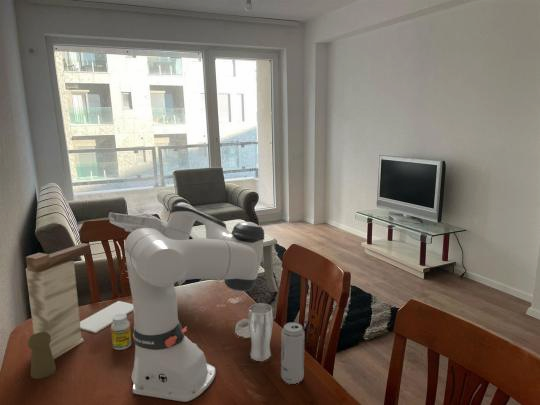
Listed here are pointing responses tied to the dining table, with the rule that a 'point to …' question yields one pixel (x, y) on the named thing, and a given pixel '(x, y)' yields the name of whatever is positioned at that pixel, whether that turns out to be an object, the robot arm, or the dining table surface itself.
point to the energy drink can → (292, 353)
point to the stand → (55, 306)
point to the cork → (41, 355)
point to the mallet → (55, 257)
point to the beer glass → (260, 330)
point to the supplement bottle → (121, 332)
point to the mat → (105, 316)
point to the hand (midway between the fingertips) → (120, 216)
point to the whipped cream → (243, 328)
